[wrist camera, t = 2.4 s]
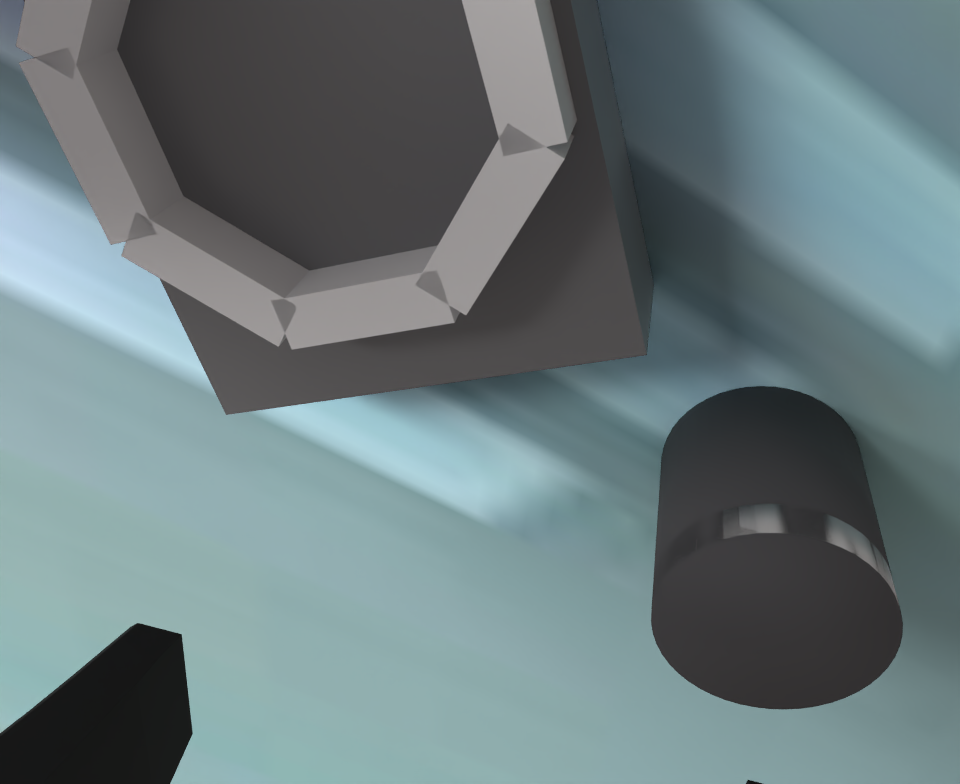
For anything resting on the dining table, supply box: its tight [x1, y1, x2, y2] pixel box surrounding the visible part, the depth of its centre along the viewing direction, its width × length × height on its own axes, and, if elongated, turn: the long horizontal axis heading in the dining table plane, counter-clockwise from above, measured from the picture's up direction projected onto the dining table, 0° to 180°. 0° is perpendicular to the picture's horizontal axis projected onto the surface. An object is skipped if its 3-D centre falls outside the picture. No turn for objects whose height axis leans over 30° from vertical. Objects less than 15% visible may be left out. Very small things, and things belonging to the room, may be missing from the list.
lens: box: [651, 386, 903, 709], centre depth 18 cm, size 4×4×5 cm
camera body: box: [16, 0, 654, 415], centre depth 15 cm, size 9×12×4 cm
